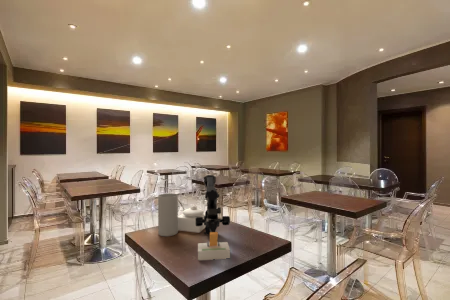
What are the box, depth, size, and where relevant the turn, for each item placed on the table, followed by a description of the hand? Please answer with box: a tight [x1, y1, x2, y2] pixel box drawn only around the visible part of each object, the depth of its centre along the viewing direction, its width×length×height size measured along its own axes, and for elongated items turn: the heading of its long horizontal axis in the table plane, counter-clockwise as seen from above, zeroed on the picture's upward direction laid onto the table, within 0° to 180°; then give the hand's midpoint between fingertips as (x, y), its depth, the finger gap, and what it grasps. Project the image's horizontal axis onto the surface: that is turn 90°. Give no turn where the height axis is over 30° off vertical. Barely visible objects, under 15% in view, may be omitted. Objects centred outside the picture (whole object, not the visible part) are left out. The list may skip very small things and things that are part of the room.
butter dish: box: [178, 204, 206, 234], centre depth 168 cm, size 18×18×16 cm
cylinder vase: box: [157, 192, 179, 237], centre depth 156 cm, size 12×12×25 cm
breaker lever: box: [208, 231, 219, 246], centre depth 123 cm, size 2×4×9 cm
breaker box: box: [197, 241, 231, 261], centre depth 125 cm, size 10×16×6 cm, turn 96°
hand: (213, 236), depth 126 cm, fingers closed
